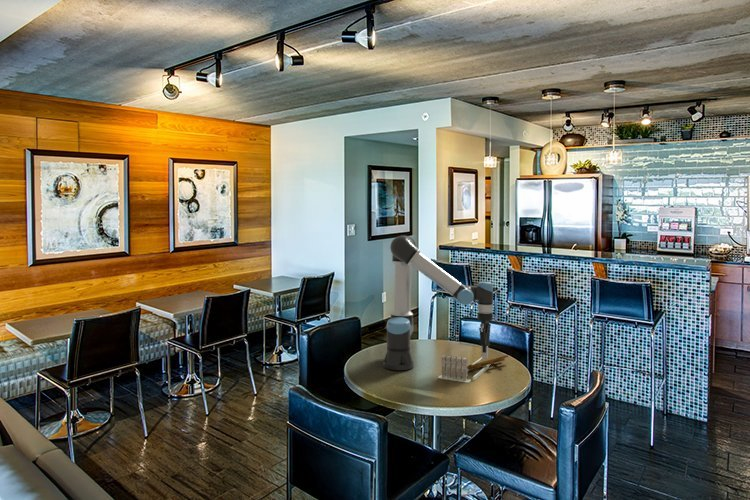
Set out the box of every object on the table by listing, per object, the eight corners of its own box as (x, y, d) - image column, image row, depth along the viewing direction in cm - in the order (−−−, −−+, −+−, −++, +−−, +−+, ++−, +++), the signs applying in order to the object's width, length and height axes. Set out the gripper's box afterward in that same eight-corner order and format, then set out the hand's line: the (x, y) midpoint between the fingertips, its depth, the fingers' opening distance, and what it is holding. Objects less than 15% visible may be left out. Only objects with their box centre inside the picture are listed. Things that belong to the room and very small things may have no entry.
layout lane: (458, 378, 229) (458, 374, 229) (482, 359, 261) (482, 356, 261) (474, 380, 225) (474, 377, 225) (496, 361, 258) (496, 358, 258)
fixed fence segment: (466, 380, 224) (466, 358, 224) (441, 377, 230) (441, 355, 230) (467, 379, 226) (467, 357, 225) (442, 376, 232) (442, 354, 231)
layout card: (436, 378, 229) (436, 377, 229) (440, 375, 233) (440, 375, 233) (468, 382, 222) (468, 382, 222) (471, 380, 226) (471, 379, 226)
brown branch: (463, 371, 241) (477, 367, 234) (462, 367, 242) (476, 363, 234) (498, 361, 256) (512, 357, 248) (496, 357, 256) (511, 354, 249)
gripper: (488, 314, 244) (488, 362, 245) (496, 311, 256) (495, 356, 257) (474, 313, 248) (473, 360, 249) (481, 309, 259) (481, 354, 260)
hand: (484, 358), depth 253 cm, fingers closed
